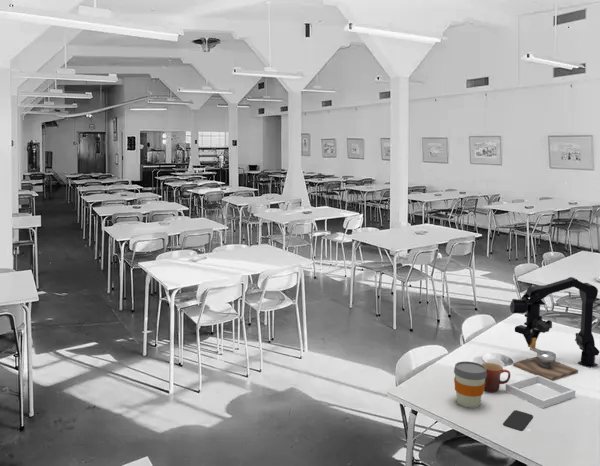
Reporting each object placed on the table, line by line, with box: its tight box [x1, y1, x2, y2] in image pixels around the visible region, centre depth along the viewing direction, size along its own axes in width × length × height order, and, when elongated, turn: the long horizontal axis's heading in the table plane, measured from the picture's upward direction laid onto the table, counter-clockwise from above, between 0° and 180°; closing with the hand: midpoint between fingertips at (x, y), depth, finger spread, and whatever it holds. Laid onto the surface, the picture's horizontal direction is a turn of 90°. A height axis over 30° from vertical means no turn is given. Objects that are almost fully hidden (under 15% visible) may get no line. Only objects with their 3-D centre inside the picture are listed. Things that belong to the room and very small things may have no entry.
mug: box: [480, 362, 511, 393], centre depth 232 cm, size 12×9×10 cm
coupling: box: [527, 336, 556, 363], centre depth 258 cm, size 14×8×8 cm, turn 23°
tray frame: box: [504, 375, 576, 409], centre depth 230 cm, size 21×18×3 cm
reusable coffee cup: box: [453, 360, 487, 409], centre depth 220 cm, size 13×13×15 cm
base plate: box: [512, 356, 579, 381], centre depth 256 cm, size 20×20×4 cm
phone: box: [502, 409, 534, 432], centre depth 206 cm, size 7×1×15 cm
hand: (531, 344), depth 263 cm, fingers open, 3 cm apart
